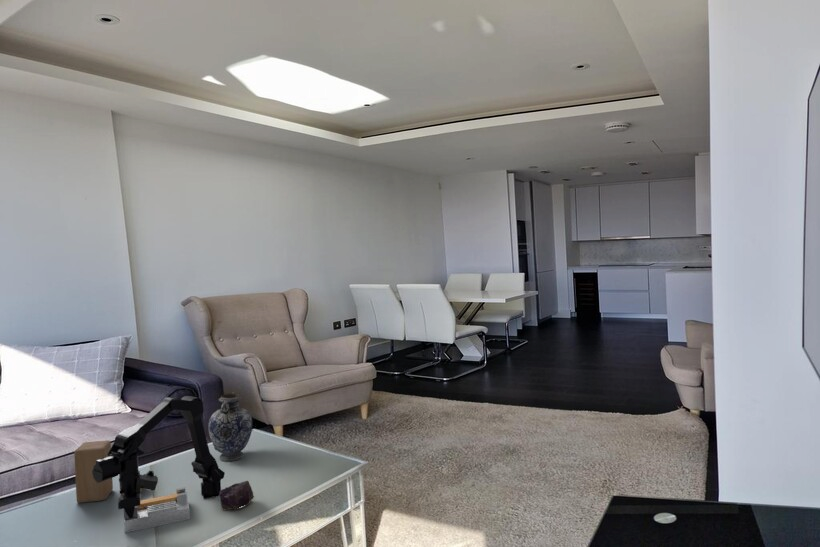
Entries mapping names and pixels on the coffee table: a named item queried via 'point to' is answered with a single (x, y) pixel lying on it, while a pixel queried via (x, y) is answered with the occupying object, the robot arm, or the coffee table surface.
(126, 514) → the block
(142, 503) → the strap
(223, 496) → the rock
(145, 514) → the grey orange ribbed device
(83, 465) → the block
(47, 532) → the coffee table surface
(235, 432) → the decorative vase
